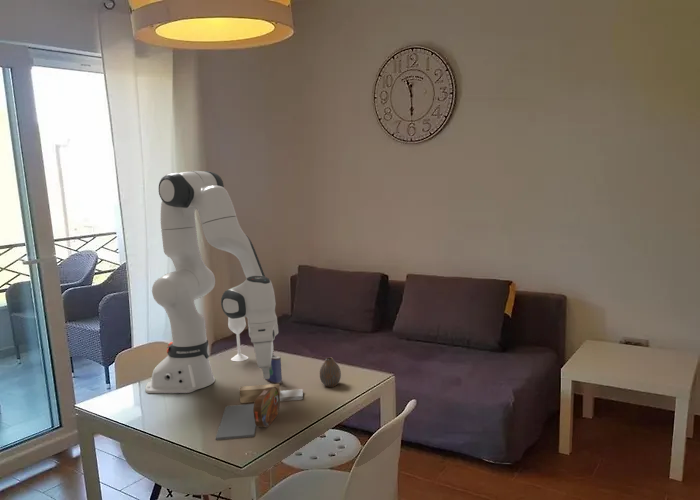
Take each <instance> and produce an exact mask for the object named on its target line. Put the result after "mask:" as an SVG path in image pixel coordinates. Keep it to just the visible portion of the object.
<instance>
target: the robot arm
mask: <svg viewBox="0 0 700 500" xmlns="http://www.w3.org/2000/svg"><path fill="white" fill-rule="evenodd" d="M224 186H225V185H224V181H223V180H222V178H221V176H220V175H219V174H217V173H215V172H213V171H209V170H205V171H200V170H188V171H181V172H172V173H168V174H166V175H163V176H162V177H161V179H160V181H159V183H158V195H159V198H160V200H161V203H160V229H161V231H160V232H161V239H162V247H163V252H164V254H165V255H166V257H168V258H170V259H171V261H172V263H173V264H174V269H175V271H171V272H167V273H165V274H164V275H162V276H160V277H158V278H157V279H156V280H155V281H154V282H153V284H152V287H151V288H152V290H151V292H152V297H153V299H154V301H155V302H156V303H157V304H158V305H159V306H161V307H162V308H163V309H164V311H165V312H166V315H167V317H168V320H169V323H170V328H171V329H170V330H171V331H170V332H171V338H172V340H171V341H170V342H169V343H168V345H167V347H166V353H167V355H166V357H164V358H163V360H161V361H160V362H159V363H158V364H157V365H156V366H155V368H154V369H153V370H152V375H151V380H149V381H148V382H147V384H146V385H145V388H144V389H145V390H144V392H146V393H147V394H179V393H180V394H186V393H187V394H188V393H192V392H195V391H197V390H200V389H203V388H206V387H208V386H210V385H212V384H213V383H215V381H216V378H215V376H214V373H213V370H212V366H211V362H210V344H209V340H208V339H207V327H206V318H205V317H204V315H202V314H201V313H199V312H198V309H197V307H196V303H195V301H196V300H198V299H201V298H204V297H205V296H206V295H208V294H210V292H212V291H213V290H214V288H215V285H216V278H215V274H214V272H213V271H212V270H211V269H210V268H209V267H207V265H206V263H205V262H204V260H203V257H202V255H201V252H200V248H199V240H198V233H197V225H196V216H195V212H196V211H197V212H198V215H199V218H200V219H199V221H200V224H201V230H202V233H203V236H204V238H205V240H206V241H207V243H208V244H209V245H210V246H211V247H213V248H214V249H215V248H216V249H217V250H220V251H224V252H227V253H230V254H231V255H233V256H235V258H237V259H238V261H239V264H240V266H241V269H242V271H243V274H244V276H245V280H244V281H243V282H242V283H240V284H238V285H236V286H233V287H231V288H229V289H227V290H225V291H224V292H223V293H222V296H221V300H220V306H221V309H222V312H223V313H224V314H225V316H226V317H227V318H228V317H229V318H232V319H238V318H242V317H245V318H247V327H248V336H249V338H250V342H251V343H252V344H253V348H254V354H255V360H256V365H257V367H258V369H261V371H262V375H263V377H262V378H263V380H265V379H269V378H270V372H269V369H271V360H272V354H273V353H274V352H273V350H274V340H276V339H275V337H276V336H277V335H278V334H279V325H278V324H279V323H278V316H277V313H276V305H277V303H276V296H275V289H274V286H273V283H272V280H271V279H270V278H268V277H267V276H266V275H265V273H264V270H263V268H262V265H261V261H260V260H259V257H258V254H257V252H256V249H255V246H254V245H253V243H252V240H251V239H250V237H249V236H248V235H247V234H245V232H244V231H243V229H242V227H241V225H240V222H239V220H238V216H237V212H236V209H235V206H234V203H233V201H232V199H231V196H230V194H229V192H228V190H227V189H226V188H225V187H224ZM273 355H274V354H273Z"/></svg>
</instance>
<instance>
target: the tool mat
mask: <svg viewBox="0 0 700 500" xmlns="http://www.w3.org/2000/svg"><path fill="white" fill-rule="evenodd" d="M253 407H254V403H248V404H246V403H244V404H234V405H225V407H224V411H223V414H222V417H221V420H220V423H219V427H218V430H217V432H216V435H215V440H217V441H221V440H233V439H242V438H243V439H244V438H254V437H255V435H256V430H257V426H256V424H255V419H254V412H253Z"/></svg>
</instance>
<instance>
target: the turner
mask: <svg viewBox="0 0 700 500" xmlns="http://www.w3.org/2000/svg"><path fill="white" fill-rule="evenodd" d="M280 385H281V383H280V384H273V383H269V384H256V385H245V386H243V385H242V386H240V387H239V402H240V404H246V403H254V402H255V400H256V398H257V397H258V396H259V395H260V394H261V393H262V392H263V391H264V389H265V388H268V387H276V388H277V389H278V392H279V397H280V402H289V401H291V402H292V401H300V400H301V401H302V400H303V399H304V392H303V391H304V388H299V389H287V390H281V386H280Z"/></svg>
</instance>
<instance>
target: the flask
mask: <svg viewBox="0 0 700 500" xmlns="http://www.w3.org/2000/svg"><path fill="white" fill-rule="evenodd" d="M274 352H275V350H274V349H273V354H272V360H271V369H269V372H270V378H269V379H264V380H265V381H267V382H269V383H270V384H280V385H281V384H283V377H282V376H283V375H282V373H283V372H282V362H281V361H282V358H281V356H279V355H275V354H274Z"/></svg>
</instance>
